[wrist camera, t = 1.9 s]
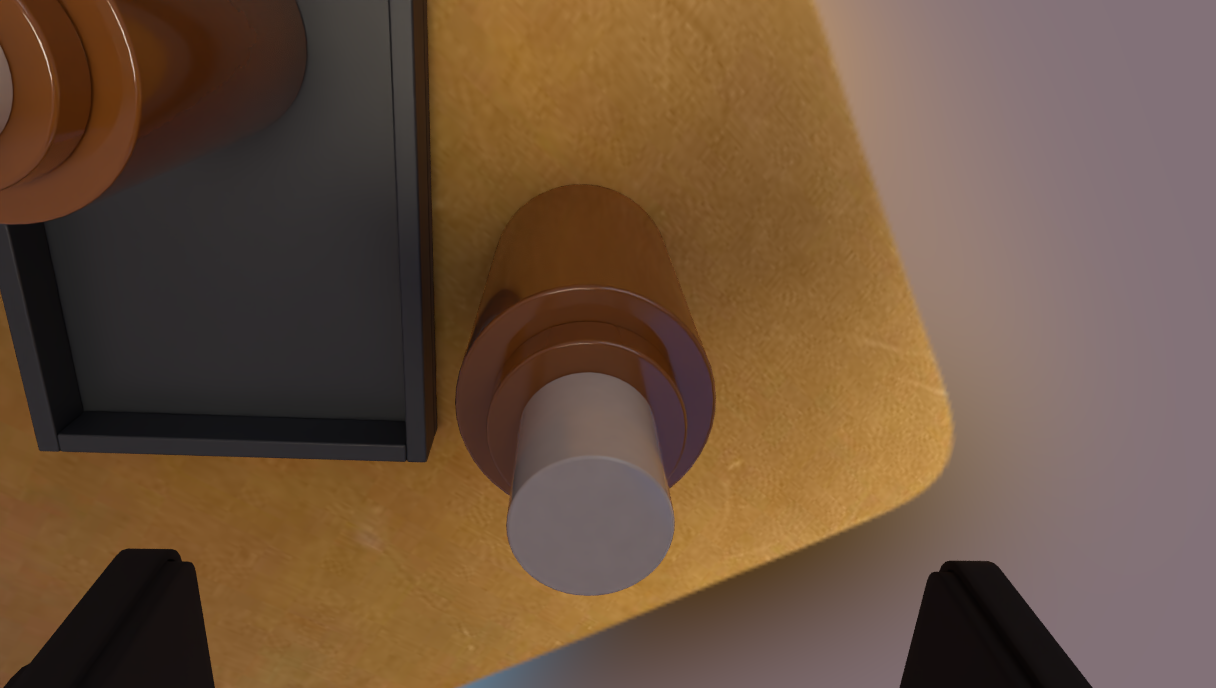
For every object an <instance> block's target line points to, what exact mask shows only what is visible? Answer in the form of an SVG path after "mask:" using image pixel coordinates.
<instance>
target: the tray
mask: <svg viewBox="0 0 1216 688" xmlns="http://www.w3.org/2000/svg"><path fill="white" fill-rule="evenodd" d="M295 2H296V4H297V7H298V9H299V12H300V15H301V18H302V22H303V25H304V29H305V36H306V43H307V61H306V70H305V74H304V78H303V82H302V85H301V88H300V90H299V92H298V95H297V97H296V98H295V100H294V102H293V103H292V105H291V107H290V108H289V109H288V110H287V111H286V113H285V114H284V115H283V116H282V117H281V118H280V119H279V120H278V121H276V122H275V123H274V124H273V125H271V126H270V127H268V128H267V129H265V130H263V131H261V132H259V133H257V134H255V135H252V136H250V137H248V138H245V139H243V140H241V141H238V142H236V143H234V144H232V145H229V146H227V147H225V148H222V149H220V150H218V151H215V152H213V153H211V154H208V155H206V156H204V157H202V158H199V159H197V160H195V161H192V162H190V163H188V164H185V165H183V166H181V167H178V168H176V169H174V170H171V171H169V172H167V173H165V174H162V175H160V176H158V177H155V178H153V179H151V180H148V181H146V182H144V183H141V184H139V185H137V186H135V187H132V188H130V189H128V190H125V191H123V192H121V193H118V194H116V195H114V196H111V197H109V198H107V199H105V200H102V201H100V202H98V203H95V204H93V205H91V206H88V207H86V208H84V209H81V210H79V211H77V212H74V213H72V214H70V215H68V216H65V217H61V218H58V219H55V220H51V221H48V222H41V223H34V224H23V225H5V224H0V290H1V295H2V299H3V303H4V307H5V311H6V315H7V319H8V323H9V328H10V332H11V336H12V340H13V344H14V348H15V352H16V357H17V361H18V365H19V369H20V373H21V377H22V381H23V385H24V390H25V394H26V398H27V402H28V406H29V410H30V414H31V419H32V423H33V427H34V431H35V435H36V439H37V443H38V447H39V450H40V451H57V452H58V451H63V452H96V453H130V454H163V455H196V456H230V457H263V458H297V459H330V460H364V461H397V462H405V461H406V460H407V461H408V462H426V461H427V459H428V456H429V453H430V449H431V446H432V443H433V440H434V436H435V433H436V430H437V406H436V365H435V324H434V283H433V242H432V201H431V160H430V119H429V78H428V37H427V0H295Z"/></svg>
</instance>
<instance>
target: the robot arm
mask: <svg viewBox="0 0 1216 688" xmlns="http://www.w3.org/2000/svg"><path fill="white" fill-rule="evenodd" d="M4 688H215V686H214V680H213V674H212V668H211V662H210V656H209V650H208V643H207V637H206V631H205V625H204V619H203V613H202V607H201V601H200V595H199V588H198V582H197V576H196V571H195V567H194V565H193V564H192V563H191V562H182V560H181V557H180V555H179V553H178V552H177V551H176V550H173V549H125V550H122V551H121V552H120V553H119V554H118V555H117V556H116V557H115V558H114V559H113V560H112V562H111V563H110V564H109V565H108V567H107V568H106V569H105V570H104V572H103V573H102V574H101V575H100V577H99V578H98V579H97V580H96V582H95V583H94V584H93V585H92V587H91V588H90V589H89V590H88V592H87V593H86V594H85V595H84V597H83V598H82V599H81V600H80V602H79V603H78V604H77V605H76V607H75V608H74V609H73V610H72V612H71V613H70V614H69V615H68V617H67V618H66V619H65V620H64V622H63V623H62V624H61V625H60V627H59V628H58V629H57V630H56V632H55V633H54V634H53V635H52V637H51V638H50V639H49V640H48V642H47V643H46V644H45V645H44V647H43V648H42V649H41V650H40V652H39V653H38V654H37V655H36V657H35V658H34V659H33V660H32V662H31V663H30V664H28V665H26V666H24V667H22V668H21V669H20V670H19V671H18V672H17V673H16V674H15V675H14V676H13V677H12V678H11V679H10V680H9V681H8V683H7V684H6V685H5V686H4ZM900 688H1092V686H1091V685H1090V684H1089V683H1088V681H1087V680H1086V679H1085V677H1084V676H1083V675H1082V674H1081V672H1080V671H1079V670H1078V668H1077V667H1076V666H1075V665H1074V663H1073V662H1072V661H1071V659H1070V658H1069V657H1068V656H1067V654H1066V653H1065V652H1064V650H1063V649H1062V648H1061V647H1060V646H1059V644H1058V643H1057V642H1056V640H1055V639H1054V638H1053V636H1052V635H1051V634H1050V632H1049V631H1048V630H1047V629H1046V627H1045V626H1044V625H1043V623H1042V622H1041V621H1040V620H1039V618H1038V617H1037V616H1036V615H1035V613H1034V612H1033V611H1032V609H1031V608H1030V607H1029V605H1028V604H1027V603H1026V602H1025V600H1024V599H1023V598H1022V596H1021V595H1020V594H1019V593H1018V591H1017V590H1016V589H1015V587H1014V586H1013V585H1012V584H1011V582H1010V581H1009V580H1008V579H1007V577H1006V576H1005V575H1004V573H1003V572H1002V571H1001V569H1000V568H999V567H998V566H997V565H995V564H994V563H992V562H989V561H947V562H945V563H944V564H943V565H942V566H941V569H940V571H939V572H933V573H931V574H930V575H929V577H928V580H927V583H926V587H925V591H924V595H923V599H922V602H921V607H920V610H919V615H918V618H917V622H916V626H915V630H914V634H913V638H912V642H911V645H910V649H909V653H908V657H907V661H906V665H905V669H904V673H903V676H902V680H901V685H900Z"/></svg>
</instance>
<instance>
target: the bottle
mask: <svg viewBox="0 0 1216 688" xmlns="http://www.w3.org/2000/svg"><path fill="white" fill-rule="evenodd" d="M306 61H307V43H306V36H305V29H304V25H303V22H302V18H301V15H300V12H299V9H298V7H297V4H296V2H295V0H0V224H5V225H23V224H34V223H41V222H48V221H51V220H55V219H58V218H61V217H65V216H68V215H70V214H72V213H74V212H77V211H79V210H81V209H84V208H86V207H88V206H91V205H93V204H95V203H98V202H100V201H102V200H105V199H107V198H109V197H111V196H114V195H116V194H118V193H121V192H123V191H125V190H128V189H130V188H132V187H135V186H137V185H139V184H141V183H144V182H146V181H148V180H151V179H153V178H155V177H158V176H160V175H162V174H165V173H167V172H169V171H171V170H174V169H176V168H178V167H181V166H183V165H185V164H188V163H190V162H192V161H195V160H197V159H199V158H202V157H204V156H206V155H208V154H211V153H213V152H215V151H218V150H220V149H222V148H225V147H227V146H229V145H232V144H234V143H236V142H238V141H241V140H243V139H245V138H248V137H250V136H252V135H255V134H257V133H259V132H261V131H263V130H265V129H267V128H268V127H270V126H271V125H273V124H274V123H275V122H276V121H278V120H279V119H280V118H281V117H282V116H283V115H284V114H285V113H286V111H287V110H288V109H289V108H290V107H291V105H292V103H293V102H294V100H295V98H296V97H297V95H298V92H299V90H300V88H301V85H302V82H303V78H304V74H305V70H306Z"/></svg>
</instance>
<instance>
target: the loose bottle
mask: <svg viewBox="0 0 1216 688" xmlns="http://www.w3.org/2000/svg"><path fill="white" fill-rule="evenodd" d="M455 405H456V416H457V421H458V426H459V430H460V433H461V436H462V438H463V441H464V443H465V446H466V448H467V450H468V451H469V453H470V455H471V457H472V458H473V460H474V462H475V463H476V464H477V465H478V467H479V468H480V469H481V471H482V472H483V473H484V474H485V475H486V476H487V477H488V478H489V479H490V480H491V481H492V482H493V483H494V484H495V485H496V486H498V487H499V488H500V489H501V490H503V491H504V492H505V493H507V494H508V495H510V498H509V506H508V514H507V524H506V527H507V537H508V541H509V545H510V547H511V550H512V552H513V554H514V556H515V557H516V559H517V561H518V562H519V563H520V565H521V566H522V567H523V568H524V570H526V571H527V572H528V573H529V574H530V575H531V576H532V577H533V578H535V579H536V580H537V581H539V582H541V583H542V584H544V585H546V586H548V587H550V588H553V589H555V590H558V591H561V592H565V593H569V594H574V595H585V596H590V595H603V594H609V593H613V592H617V591H620V590H623V589H626V588H628V587H630V586H632V585H634V584H636V583H638V582H639V581H641V580H642V579H644V578H645V577H647V576H648V575H649V574H650V573H651V572H653V571H654V569H655V568H656V567H657V566H658V565H659V564H660V563H661V561H662V560H663V558H664V557H665V555H666V553H667V551H668V549H669V547H670V545H671V542H672V539H673V534H674V526H675V519H674V511H673V506H672V501H671V496H670V491H669V489H670V488H671V487H672V486H673V485H674V484H675V483H677V482H678V481H679V480H680V479H681V478H682V477H683V476H684V475H685V474H686V473H687V471H688V470H689V469H690V468H691V467H692V465H693V464H694V463H695V461H696V460H697V458H698V457H699V455H700V454H701V452H702V450H703V448H704V446H705V444H706V442H707V440H708V437H709V434H710V431H711V429H712V425H713V420H714V415H715V406H716V391H715V381H714V377H713V373H712V369H711V365H710V363H709V360H708V357H707V355H706V352H705V349H704V347H703V344H702V341H701V339H700V336H699V334H698V331H697V328H696V326H695V323H694V320H693V318H692V315H691V312H690V310H689V307H688V304H687V302H686V299H685V296H684V294H683V291H682V289H681V286H680V283H679V281H678V278H677V275H676V273H675V270H674V267H673V265H672V262H671V259H670V257H669V254H668V251H667V249H666V246H665V243H664V241H663V239H662V236H661V234H660V231H659V230H658V228H657V226H656V225H655V223H654V221H653V220H652V219H651V218H650V216H649V215H648V214H647V213H646V212H645V211H644V210H643V209H642V208H641V207H640V206H639V205H638V204H636V203H635V202H634V201H632V200H631V199H630V198H628V197H626V196H624V195H622V194H621V193H618V192H616V191H613V190H611V189H608V188H604V187H600V186H594V185H568V186H562V187H558V188H555V189H551V190H549V191H546V192H544V193H542V194H540V195H538V196H536V197H535V198H533V199H531V200H530V201H529V202H527V203H526V204H525V205H523V206H522V207H521V208H520V209H519V210H518V211H517V212H516V213H515V214H514V215H513V217H512V218H511V219H510V221H509V222H508V224H507V225H506V227H505V229H504V230H503V232H502V234H501V237H500V239H499V242H498V245H497V248H496V251H495V255H494V258H493V261H492V265H491V268H490V271H489V275H488V278H487V281H486V285H485V288H484V292H483V295H482V298H481V302H480V305H479V308H478V312H477V315H476V318H475V322H474V325H473V328H472V332H471V335H470V338H469V342H468V345H467V348H466V352H465V355H464V358H463V362H462V365H461V368H460V372H459V376H458V381H457V386H456V399H455Z"/></svg>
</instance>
